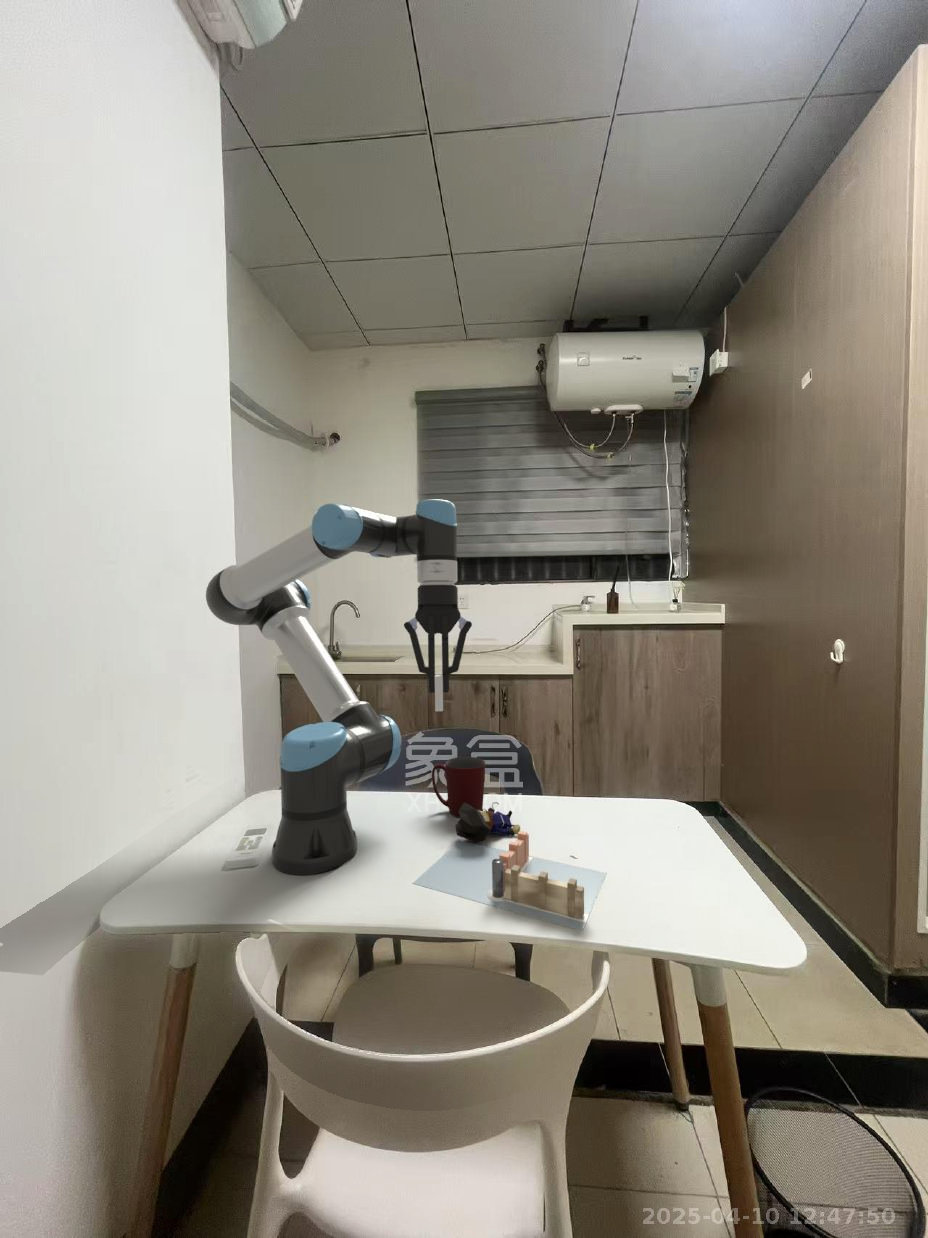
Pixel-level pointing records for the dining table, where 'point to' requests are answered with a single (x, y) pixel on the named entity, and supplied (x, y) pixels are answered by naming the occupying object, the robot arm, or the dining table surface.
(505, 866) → the swing panel
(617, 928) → the dining table surface
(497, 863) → the hinge post
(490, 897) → the card
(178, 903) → the dining table surface
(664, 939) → the dining table surface
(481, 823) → the toy
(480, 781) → the mug
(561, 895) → the fixed panel
